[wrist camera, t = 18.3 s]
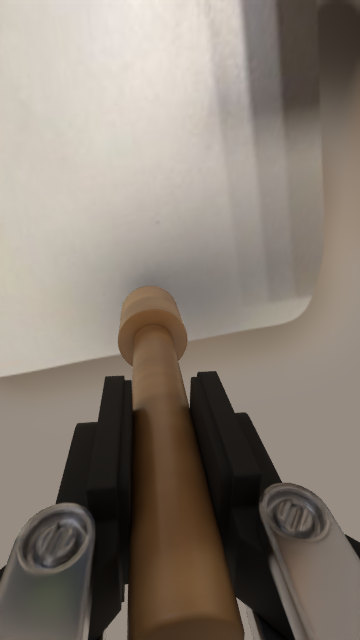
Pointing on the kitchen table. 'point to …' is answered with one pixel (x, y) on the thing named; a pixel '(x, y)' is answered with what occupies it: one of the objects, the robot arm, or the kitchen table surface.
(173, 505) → the muddler
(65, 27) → the kitchen table surface
